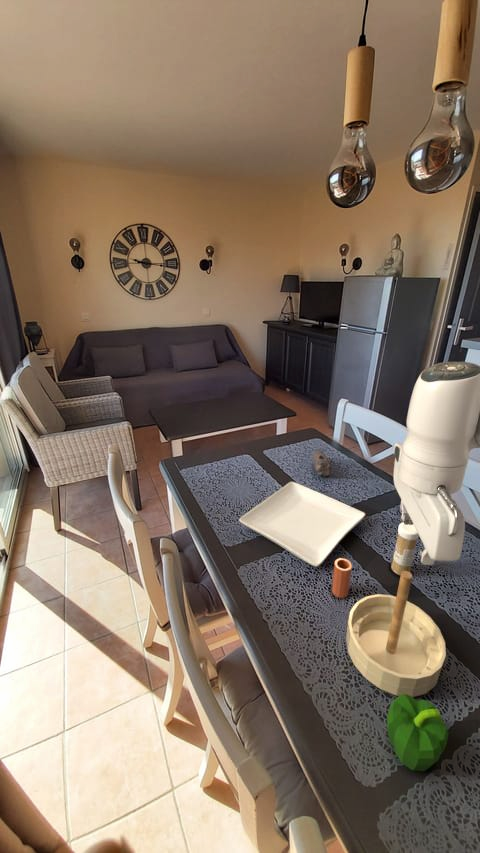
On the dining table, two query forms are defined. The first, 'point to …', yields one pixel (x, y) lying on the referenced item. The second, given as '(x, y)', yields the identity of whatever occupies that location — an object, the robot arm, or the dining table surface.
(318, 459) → the perforated stone tool
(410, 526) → the sprinkles bottle
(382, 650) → the bowl
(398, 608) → the stirring stick
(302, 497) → the square plate
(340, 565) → the stick holder
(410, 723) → the bell pepper
